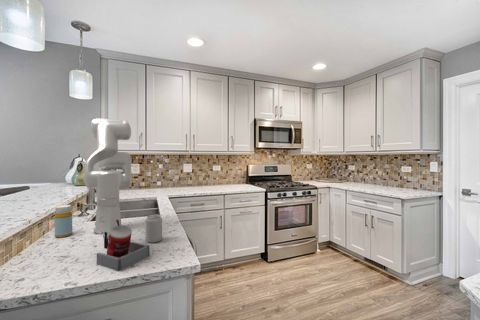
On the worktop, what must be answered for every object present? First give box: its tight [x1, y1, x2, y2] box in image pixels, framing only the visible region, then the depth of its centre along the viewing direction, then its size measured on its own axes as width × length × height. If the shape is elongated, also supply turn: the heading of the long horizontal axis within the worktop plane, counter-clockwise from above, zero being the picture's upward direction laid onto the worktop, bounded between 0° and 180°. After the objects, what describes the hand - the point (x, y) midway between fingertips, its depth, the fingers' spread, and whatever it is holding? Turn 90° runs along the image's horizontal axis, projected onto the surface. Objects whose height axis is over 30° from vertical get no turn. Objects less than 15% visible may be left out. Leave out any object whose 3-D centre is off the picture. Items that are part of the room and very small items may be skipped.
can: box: [144, 213, 163, 244], centre depth 110 cm, size 8×8×12 cm
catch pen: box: [96, 240, 151, 272], centre depth 90 cm, size 12×14×4 cm
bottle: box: [54, 204, 73, 239], centre depth 116 cm, size 7×7×15 cm
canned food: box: [106, 224, 133, 258], centre depth 90 cm, size 8×8×11 cm
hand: (109, 247), depth 93 cm, fingers closed
